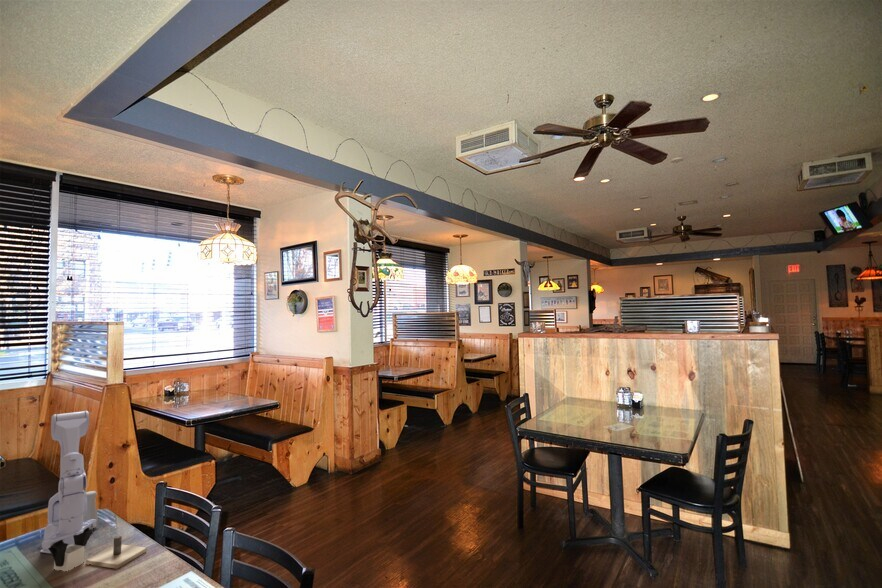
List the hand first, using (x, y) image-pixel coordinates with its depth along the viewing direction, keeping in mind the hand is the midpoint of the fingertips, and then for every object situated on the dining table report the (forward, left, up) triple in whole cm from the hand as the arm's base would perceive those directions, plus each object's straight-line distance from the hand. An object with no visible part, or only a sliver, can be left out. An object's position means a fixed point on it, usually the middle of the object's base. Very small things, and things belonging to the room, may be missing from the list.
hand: (69, 560), depth 133 cm
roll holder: (+10, +7, -2) cm, 12 cm away
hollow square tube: (0, 0, -2) cm, 2 cm away
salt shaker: (-18, +20, -2) cm, 27 cm away
